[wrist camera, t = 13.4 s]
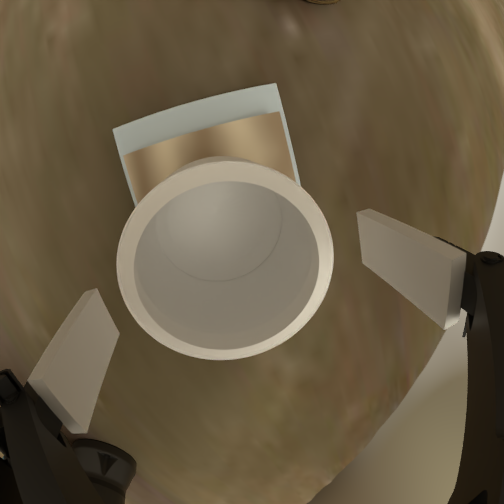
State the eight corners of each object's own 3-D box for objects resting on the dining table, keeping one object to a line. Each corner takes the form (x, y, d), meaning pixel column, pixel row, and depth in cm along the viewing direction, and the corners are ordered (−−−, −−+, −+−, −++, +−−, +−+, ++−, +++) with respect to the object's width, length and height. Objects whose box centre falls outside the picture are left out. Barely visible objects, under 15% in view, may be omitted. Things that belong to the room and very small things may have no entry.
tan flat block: (175, 280, 34) (172, 296, 30) (133, 154, 28) (122, 155, 24) (299, 244, 34) (310, 256, 31) (270, 115, 29) (279, 111, 25)
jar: (187, 276, 29) (178, 383, 15) (143, 181, 26) (78, 221, 12) (286, 236, 29) (353, 316, 15) (250, 137, 26) (300, 125, 12)
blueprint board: (174, 303, 36) (173, 308, 35) (115, 129, 28) (112, 129, 27) (313, 263, 37) (316, 267, 36) (273, 85, 29) (276, 83, 28)
